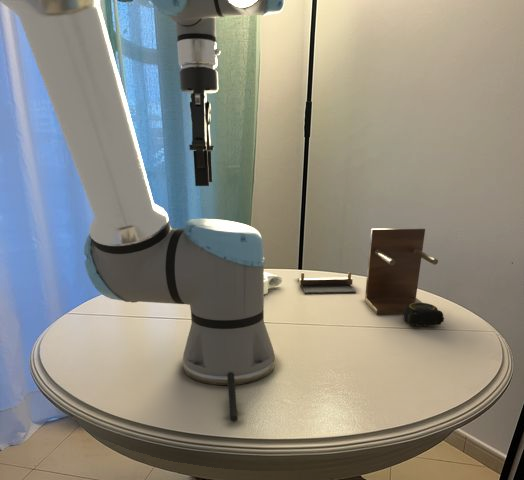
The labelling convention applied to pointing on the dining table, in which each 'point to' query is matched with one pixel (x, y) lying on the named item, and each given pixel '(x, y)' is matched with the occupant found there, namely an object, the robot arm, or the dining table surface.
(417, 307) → the tape measure
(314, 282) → the hanger
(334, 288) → the mat
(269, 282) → the white brass knuckles
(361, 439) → the dining table surface
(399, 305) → the rack
